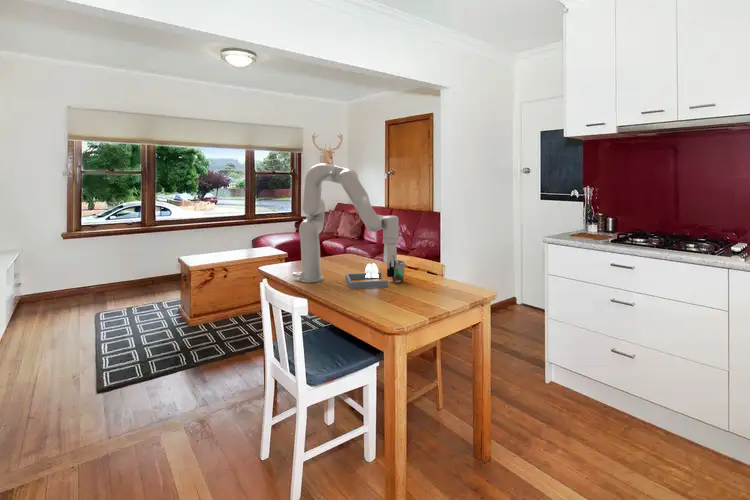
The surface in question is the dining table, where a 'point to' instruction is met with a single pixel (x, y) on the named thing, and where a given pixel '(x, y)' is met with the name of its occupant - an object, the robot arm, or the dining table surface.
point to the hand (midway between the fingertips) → (390, 276)
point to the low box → (364, 283)
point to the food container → (399, 272)
